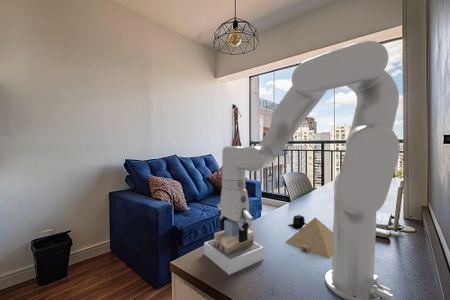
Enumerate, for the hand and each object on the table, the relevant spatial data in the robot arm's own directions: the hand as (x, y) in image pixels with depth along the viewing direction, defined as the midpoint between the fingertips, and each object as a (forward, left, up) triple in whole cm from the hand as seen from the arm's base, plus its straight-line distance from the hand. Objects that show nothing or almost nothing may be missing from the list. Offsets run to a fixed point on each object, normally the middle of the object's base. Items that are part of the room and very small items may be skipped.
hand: (233, 235), depth 72 cm
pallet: (0, 0, -3) cm, 3 cm away
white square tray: (0, 0, -7) cm, 7 cm away
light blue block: (0, 0, +1) cm, 1 cm away
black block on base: (+4, -40, -8) cm, 41 cm away
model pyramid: (-10, -31, -8) cm, 33 cm away
